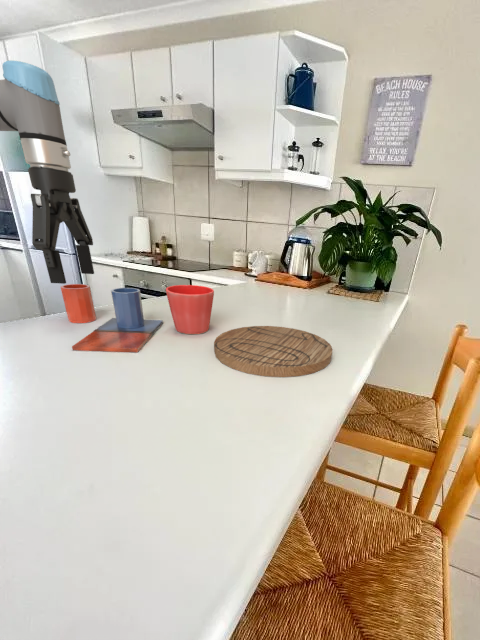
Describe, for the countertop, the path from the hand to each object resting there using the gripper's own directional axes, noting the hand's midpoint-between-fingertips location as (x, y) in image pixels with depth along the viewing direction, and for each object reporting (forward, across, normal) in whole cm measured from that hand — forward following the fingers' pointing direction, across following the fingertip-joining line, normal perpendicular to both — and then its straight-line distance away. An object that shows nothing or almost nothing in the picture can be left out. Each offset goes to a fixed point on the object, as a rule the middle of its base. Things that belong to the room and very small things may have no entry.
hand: (74, 278), depth 74 cm
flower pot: (+10, -4, -27) cm, 29 cm away
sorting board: (+10, -10, -13) cm, 19 cm away
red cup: (+10, 0, 0) cm, 10 cm away
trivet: (+10, -17, -46) cm, 50 cm away
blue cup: (+9, -5, -13) cm, 16 cm away
